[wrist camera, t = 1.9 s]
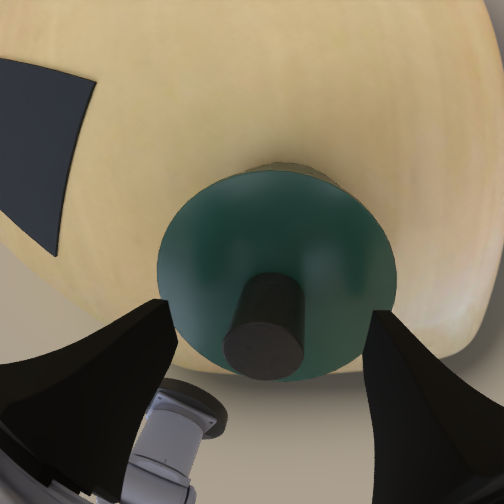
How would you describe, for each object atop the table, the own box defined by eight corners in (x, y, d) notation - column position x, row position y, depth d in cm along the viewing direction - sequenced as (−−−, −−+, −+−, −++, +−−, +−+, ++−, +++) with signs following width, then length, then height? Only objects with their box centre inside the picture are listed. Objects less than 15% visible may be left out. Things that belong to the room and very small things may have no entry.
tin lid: (306, 389, 15) (303, 451, 11) (144, 308, 14) (103, 361, 10) (432, 251, 10) (479, 305, 6) (222, 121, 10) (174, 115, 6)
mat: (57, 256, 22) (55, 257, 21) (-29, 177, 21) (-31, 178, 20) (96, 82, 15) (94, 82, 15) (-7, 57, 14) (-9, 57, 13)
